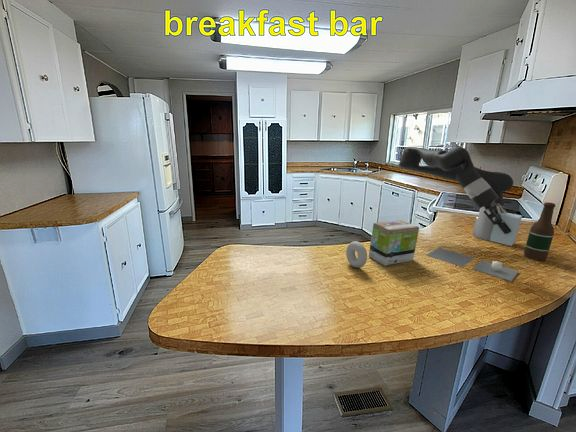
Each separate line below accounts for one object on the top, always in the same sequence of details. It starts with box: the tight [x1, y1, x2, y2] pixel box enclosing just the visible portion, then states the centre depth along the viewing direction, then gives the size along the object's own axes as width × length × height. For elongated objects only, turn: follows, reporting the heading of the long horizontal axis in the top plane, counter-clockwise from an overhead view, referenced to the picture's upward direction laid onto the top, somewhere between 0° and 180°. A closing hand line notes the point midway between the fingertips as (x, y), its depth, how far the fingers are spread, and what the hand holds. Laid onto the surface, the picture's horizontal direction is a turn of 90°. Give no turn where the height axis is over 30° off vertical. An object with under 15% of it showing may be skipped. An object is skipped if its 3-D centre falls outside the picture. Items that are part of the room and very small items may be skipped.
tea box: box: [368, 219, 420, 267], centre depth 114 cm, size 15×10×15 cm, turn 115°
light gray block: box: [489, 212, 523, 247], centre depth 103 cm, size 6×6×10 cm
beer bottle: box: [523, 201, 556, 262], centre depth 119 cm, size 8×8×24 cm
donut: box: [345, 240, 368, 269], centre depth 106 cm, size 10×4×10 cm, turn 26°
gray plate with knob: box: [472, 260, 520, 283], centre depth 107 cm, size 12×12×4 cm
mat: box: [425, 247, 474, 268], centre depth 119 cm, size 14×14×1 cm
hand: (510, 230), depth 102 cm, fingers closed on light gray block, 6 cm apart
